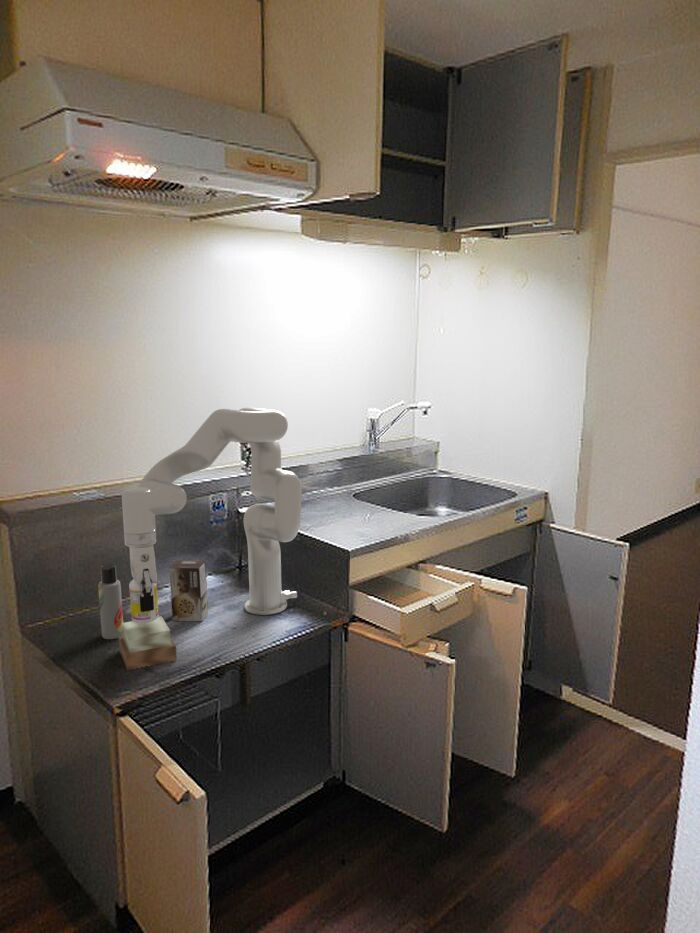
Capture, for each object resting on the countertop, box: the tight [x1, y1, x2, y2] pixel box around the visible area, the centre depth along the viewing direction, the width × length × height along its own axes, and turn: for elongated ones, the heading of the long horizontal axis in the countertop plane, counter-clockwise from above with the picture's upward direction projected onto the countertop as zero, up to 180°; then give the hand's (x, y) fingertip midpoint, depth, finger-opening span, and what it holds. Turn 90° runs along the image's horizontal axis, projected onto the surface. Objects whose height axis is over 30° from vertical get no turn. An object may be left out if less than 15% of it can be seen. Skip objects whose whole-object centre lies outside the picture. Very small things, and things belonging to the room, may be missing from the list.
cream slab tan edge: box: [118, 615, 177, 671], centre depth 185 cm, size 12×12×8 cm
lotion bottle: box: [97, 563, 124, 640], centre depth 196 cm, size 6×6×20 cm
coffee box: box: [168, 560, 209, 622], centre depth 208 cm, size 9×6×16 cm
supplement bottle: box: [128, 572, 160, 623], centre depth 182 cm, size 7×7×13 cm
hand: (144, 605), depth 183 cm, fingers closed on supplement bottle, 6 cm apart
